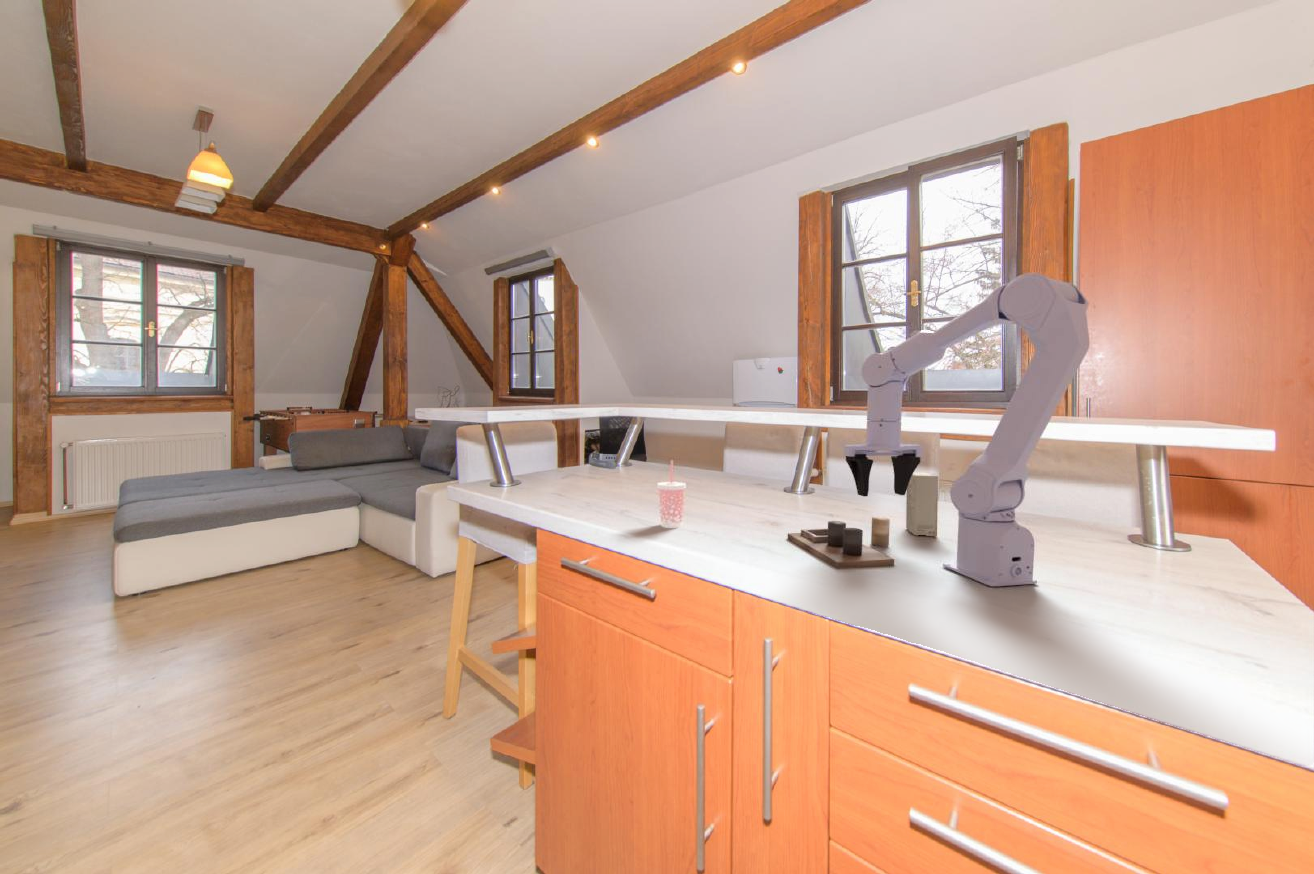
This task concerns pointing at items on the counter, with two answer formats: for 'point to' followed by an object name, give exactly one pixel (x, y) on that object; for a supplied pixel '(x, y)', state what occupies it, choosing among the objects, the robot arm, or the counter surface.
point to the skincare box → (922, 504)
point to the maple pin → (880, 532)
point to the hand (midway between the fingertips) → (881, 494)
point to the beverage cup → (671, 502)
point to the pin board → (839, 556)
